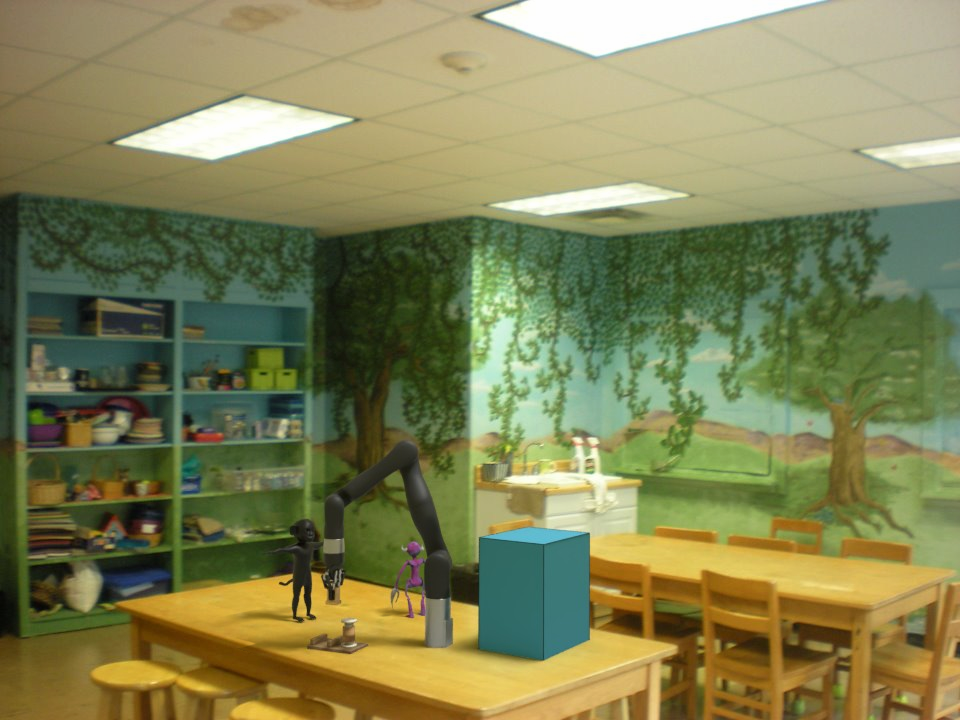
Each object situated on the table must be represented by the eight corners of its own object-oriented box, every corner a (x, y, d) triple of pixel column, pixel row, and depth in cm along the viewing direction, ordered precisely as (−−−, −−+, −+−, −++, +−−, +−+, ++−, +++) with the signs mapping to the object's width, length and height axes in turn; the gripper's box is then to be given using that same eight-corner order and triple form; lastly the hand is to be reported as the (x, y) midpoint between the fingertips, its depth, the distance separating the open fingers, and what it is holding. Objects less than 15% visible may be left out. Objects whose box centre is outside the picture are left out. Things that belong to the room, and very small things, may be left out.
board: (368, 646, 351) (368, 617, 351) (350, 654, 340) (351, 624, 340) (325, 641, 358) (325, 612, 359) (307, 649, 347) (307, 619, 348)
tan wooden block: (341, 603, 351) (341, 586, 352) (335, 605, 348) (336, 588, 348) (330, 602, 353) (331, 585, 353) (325, 604, 350) (325, 587, 350)
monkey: (271, 630, 374) (272, 525, 375) (238, 622, 387) (240, 520, 388) (348, 612, 404) (349, 515, 405) (316, 605, 417) (316, 511, 418)
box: (478, 651, 346) (478, 537, 347) (527, 632, 374) (527, 526, 375) (543, 663, 331) (543, 544, 332) (589, 642, 359) (590, 532, 360)
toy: (425, 610, 409) (426, 538, 410) (438, 614, 402) (439, 540, 403) (387, 617, 397) (388, 542, 398) (400, 621, 390) (400, 545, 391)
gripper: (332, 554, 343) (332, 604, 343) (353, 548, 356) (352, 596, 356) (314, 553, 346) (313, 602, 346) (335, 547, 359) (334, 595, 359)
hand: (333, 599), depth 351 cm, fingers closed on tan wooden block, 2 cm apart
